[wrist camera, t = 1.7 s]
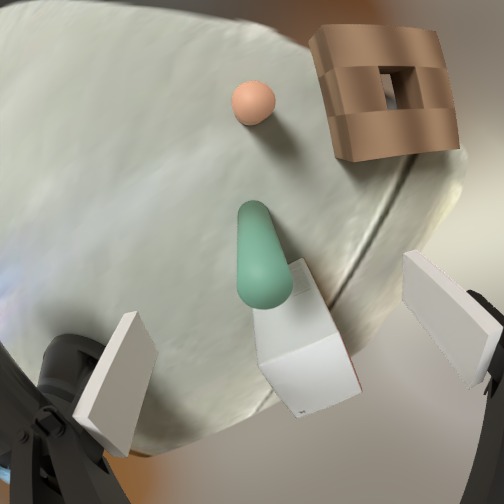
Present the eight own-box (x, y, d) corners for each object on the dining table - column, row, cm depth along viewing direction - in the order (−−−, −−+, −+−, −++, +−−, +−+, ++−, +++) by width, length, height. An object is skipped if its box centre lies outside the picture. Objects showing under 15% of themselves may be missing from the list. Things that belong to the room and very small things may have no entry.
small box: (328, 311, 33) (364, 394, 21) (279, 332, 34) (295, 421, 22) (303, 254, 30) (340, 331, 18) (248, 280, 31) (254, 367, 19)
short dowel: (238, 128, 25) (237, 125, 19) (230, 98, 24) (227, 86, 18) (269, 121, 25) (279, 117, 19) (262, 91, 24) (270, 77, 18)
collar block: (335, 157, 27) (353, 162, 22) (308, 41, 22) (321, 24, 17) (431, 144, 26) (459, 148, 21) (410, 41, 21) (436, 31, 17)
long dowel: (241, 233, 29) (244, 314, 16) (234, 204, 28) (230, 267, 15) (271, 226, 29) (296, 303, 16) (265, 197, 28) (288, 254, 15)
